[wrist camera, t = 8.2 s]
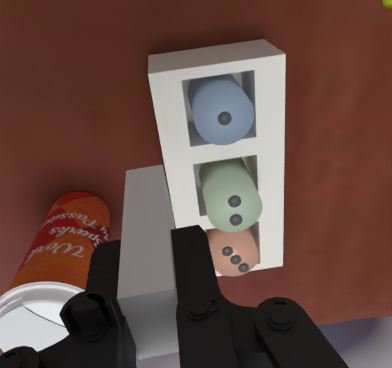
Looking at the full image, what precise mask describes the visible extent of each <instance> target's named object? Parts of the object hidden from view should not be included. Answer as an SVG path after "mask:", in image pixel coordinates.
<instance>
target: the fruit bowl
mask: <svg viewBox="0 0 392 368" xmlns="http://www.w3.org/2000/svg"><path fill="white" fill-rule="evenodd" d="M383 5H384V6H386V7H387V8H389V9H392V0H383Z"/></svg>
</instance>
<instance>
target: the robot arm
mask: <svg viewBox="0 0 392 368" xmlns="http://www.w3.org/2000/svg"><path fill="white" fill-rule="evenodd" d="M59 316H60V318H61V320H62V322H63V323H64V325H65V327H66V329H67V331H68V333H69V335H67V336H66V337H65V338H64V339H62V340H60V341H59V342H57V343H55V344H53V345H51V346H49V347H47V348H45V349H43V350H40V351H38V352H36V350H35V349H34V348H32V347H28V346H20V347H15V348H12V349H10V350H8V351H6V352H4V353H3V354H2V355H1V356H0V368H137V367H136V352H137V355H138V357H139V359H144V358H149V357H154V356H160V355H165V354H170V353H176V352H179V356H180V368H349V367H348V366H347V365H346V363H345V362H344V361H343V359H342V358H341V357H340V356H339V354H338V353H337V352H336V351H335V349H334V348H333V347H332V345H331V344H330V343H329V341H328V340H327V339H326V338H325V337H324V335H323V334H322V332H321V331H320V330H319V329H318V328H317V326H316V325H315V323H314V322H313V321H312V320H311V318H310V317H309V316H308V315H307V313H306V312H305V311H304V309H303V308H302V307H301V306H299V305H298V304H297V303H296V302H295V301H292V300H290V299H288V298H282V297H274V298H270V299H266V300H265V301H263V302H262V303H260V304H259V306H258V307H257V308H255V307H245V306H240V305H236V304H234V303H231V302H230V301H228V300H227V299H226V298H225V297H224V296H223V295H222V294H221V291H220V289H219V286H218V281H217V277H216V272H215V268H214V264H213V259H212V255H211V250H210V246H209V242H208V237H207V233H206V232H205V231H204V230H203V229H202V228H201V227H200V226H199V225H193V226H188V227H182V228H176V229H175V228H174V219H173V213H172V208H171V203H170V199H169V194H168V189H167V184H166V179H165V174H164V169H163V165H157V166H151V167H145V168H140V169H134V170H128V171H126V180H125V194H124V208H123V222H122V236H121V239H120V240H115V241H109V242H104V243H99V244H98V245H97V247H96V248H95V250H94V251H93V253H92V254H91V259H90V265H89V271H88V279H87V283H86V289H85V291H83V292H80V293H78V294H76V295H75V296H73V297H71V298H70V299H69V300H68V301H67V302H66V303H65V304H64V305H63V307H62V309H61V311H60V314H59Z"/></svg>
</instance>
